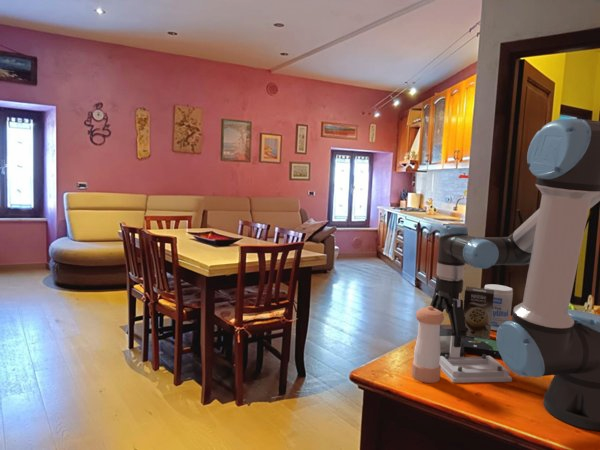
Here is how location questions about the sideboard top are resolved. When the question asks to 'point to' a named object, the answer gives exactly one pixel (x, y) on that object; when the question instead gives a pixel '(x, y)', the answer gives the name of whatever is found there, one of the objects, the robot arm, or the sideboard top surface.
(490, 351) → the disk drive
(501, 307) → the supplement tub
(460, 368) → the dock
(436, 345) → the salt shaker
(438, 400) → the sideboard top surface
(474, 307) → the dark cardboard box
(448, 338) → the grey plastic case
